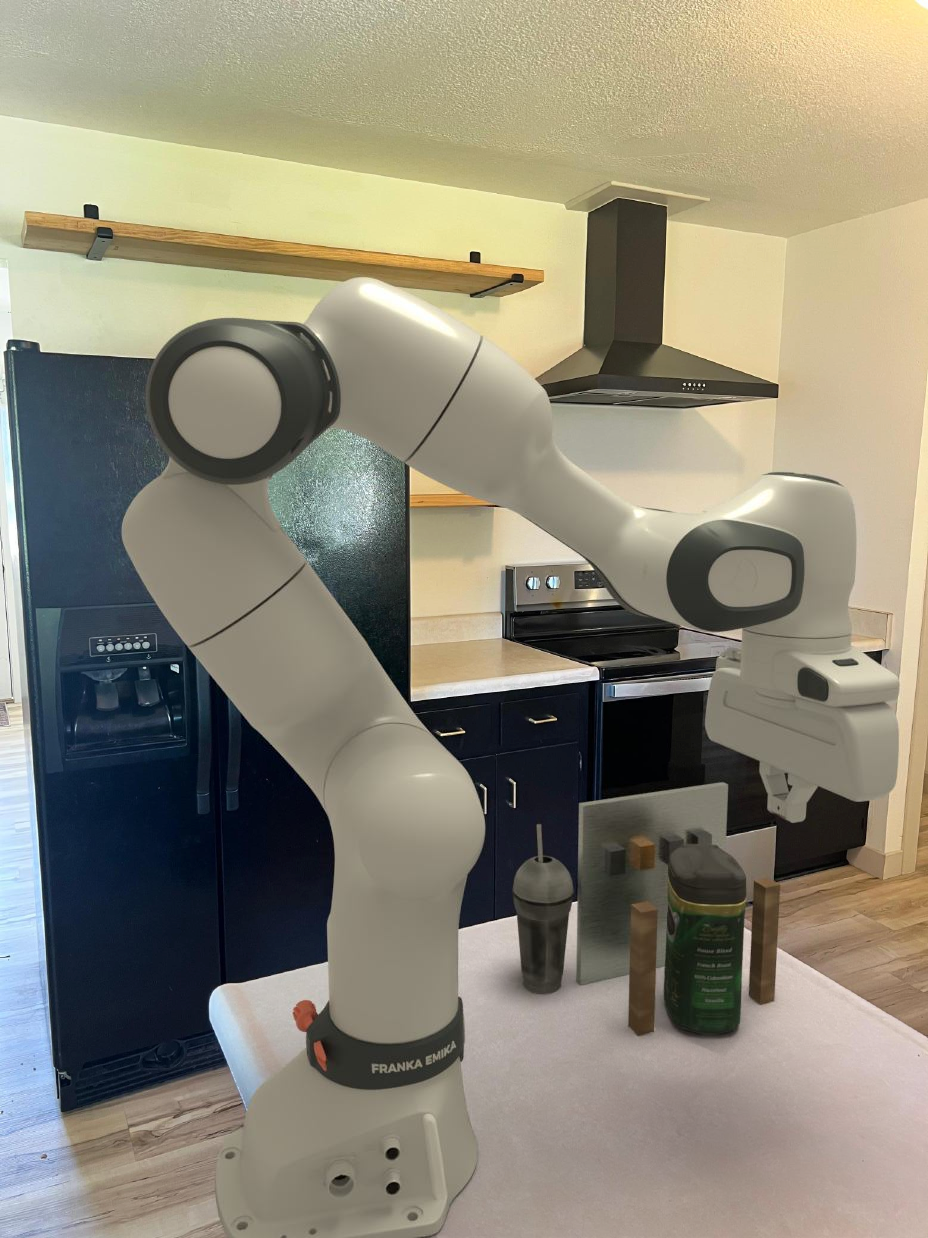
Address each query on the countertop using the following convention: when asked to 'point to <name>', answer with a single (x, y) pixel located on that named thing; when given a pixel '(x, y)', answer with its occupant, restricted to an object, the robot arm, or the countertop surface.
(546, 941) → the beverage cup
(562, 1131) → the countertop surface
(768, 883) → the gate
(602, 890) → the breaker panel
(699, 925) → the coffee jar
